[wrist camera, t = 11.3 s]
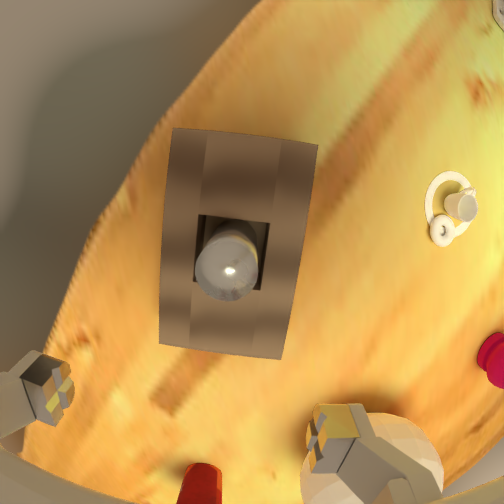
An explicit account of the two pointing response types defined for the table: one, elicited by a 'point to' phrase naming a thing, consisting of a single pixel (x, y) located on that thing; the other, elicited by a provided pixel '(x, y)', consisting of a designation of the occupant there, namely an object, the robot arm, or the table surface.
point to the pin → (229, 261)
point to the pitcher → (393, 431)
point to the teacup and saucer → (451, 209)
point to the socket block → (224, 208)
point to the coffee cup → (201, 485)
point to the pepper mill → (493, 359)
